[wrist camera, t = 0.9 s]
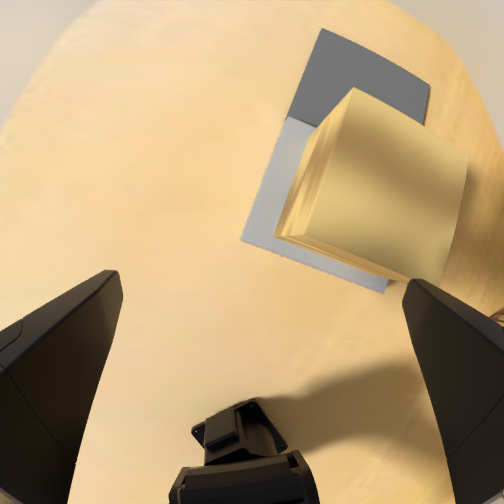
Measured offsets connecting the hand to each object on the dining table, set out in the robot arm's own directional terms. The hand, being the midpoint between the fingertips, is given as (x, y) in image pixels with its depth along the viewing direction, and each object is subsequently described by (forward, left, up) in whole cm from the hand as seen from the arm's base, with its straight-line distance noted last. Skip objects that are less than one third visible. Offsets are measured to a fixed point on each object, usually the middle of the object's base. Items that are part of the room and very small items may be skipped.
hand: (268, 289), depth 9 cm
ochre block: (0, -8, -14) cm, 16 cm away
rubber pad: (+7, -17, -16) cm, 24 cm away
